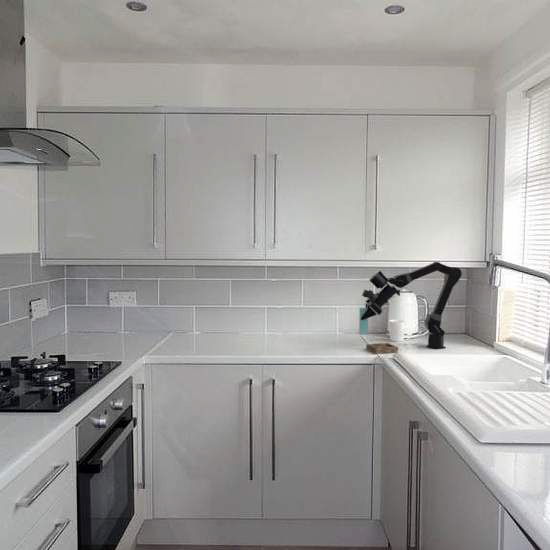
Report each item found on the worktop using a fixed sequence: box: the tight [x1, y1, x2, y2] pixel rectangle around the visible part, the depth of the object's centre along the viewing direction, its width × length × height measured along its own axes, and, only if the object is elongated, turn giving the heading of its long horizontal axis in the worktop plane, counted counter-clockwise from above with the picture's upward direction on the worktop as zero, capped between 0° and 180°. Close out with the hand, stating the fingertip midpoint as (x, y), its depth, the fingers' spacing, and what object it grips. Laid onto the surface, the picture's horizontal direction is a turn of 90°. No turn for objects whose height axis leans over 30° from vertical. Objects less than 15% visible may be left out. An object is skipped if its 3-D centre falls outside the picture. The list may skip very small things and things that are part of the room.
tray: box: [365, 342, 399, 355], centre depth 237 cm, size 11×10×2 cm
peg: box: [358, 307, 369, 335], centre depth 246 cm, size 4×4×12 cm
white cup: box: [388, 319, 406, 343], centre depth 262 cm, size 8×8×10 cm
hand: (360, 318), depth 246 cm, fingers closed on peg, 4 cm apart
